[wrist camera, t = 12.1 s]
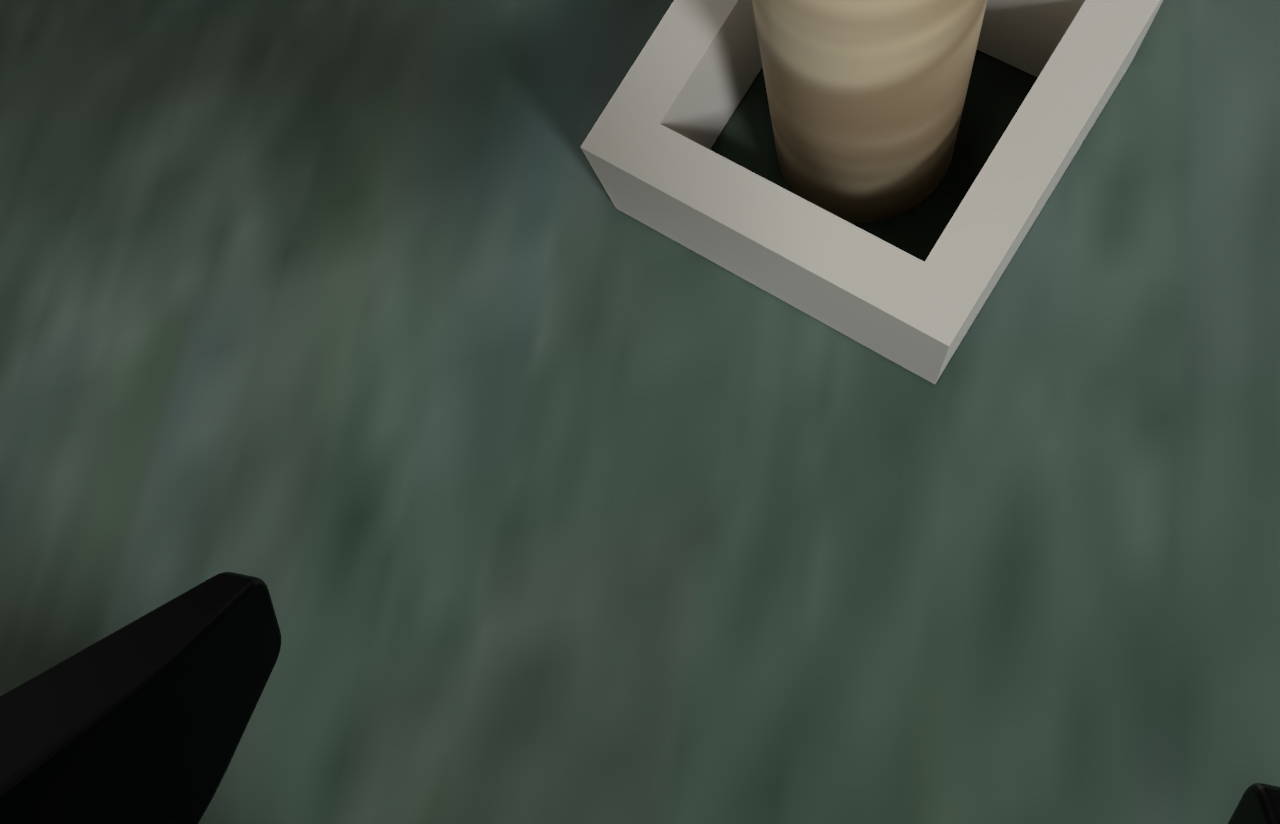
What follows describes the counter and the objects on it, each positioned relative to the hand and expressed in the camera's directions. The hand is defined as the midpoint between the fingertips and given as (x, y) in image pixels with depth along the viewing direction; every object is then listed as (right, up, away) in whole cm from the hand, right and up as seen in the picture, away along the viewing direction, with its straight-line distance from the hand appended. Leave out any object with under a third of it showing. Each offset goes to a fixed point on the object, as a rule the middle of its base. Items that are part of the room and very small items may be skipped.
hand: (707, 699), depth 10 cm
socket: (+4, +9, +15) cm, 18 cm away
